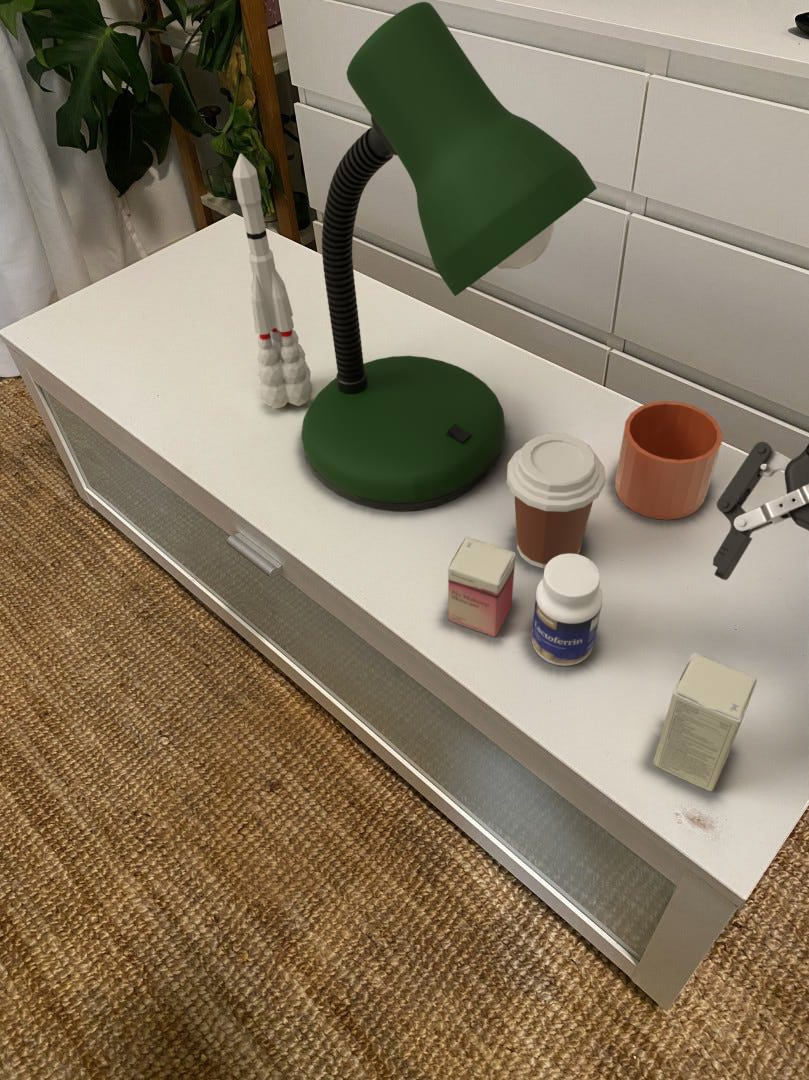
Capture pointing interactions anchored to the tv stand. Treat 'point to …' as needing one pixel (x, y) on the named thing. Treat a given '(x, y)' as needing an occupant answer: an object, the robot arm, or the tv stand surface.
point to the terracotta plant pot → (667, 459)
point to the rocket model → (270, 305)
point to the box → (703, 720)
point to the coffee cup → (553, 495)
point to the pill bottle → (567, 610)
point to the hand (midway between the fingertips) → (772, 606)
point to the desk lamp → (457, 253)
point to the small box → (480, 586)
